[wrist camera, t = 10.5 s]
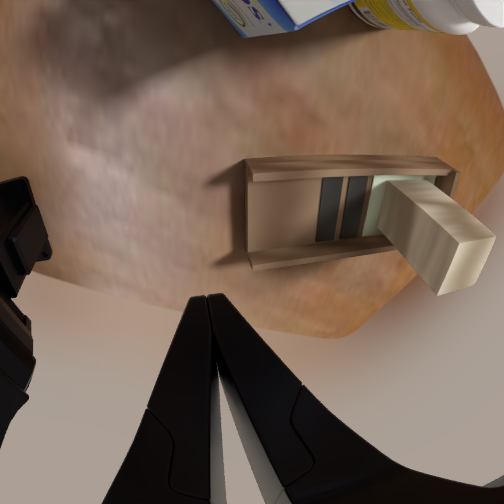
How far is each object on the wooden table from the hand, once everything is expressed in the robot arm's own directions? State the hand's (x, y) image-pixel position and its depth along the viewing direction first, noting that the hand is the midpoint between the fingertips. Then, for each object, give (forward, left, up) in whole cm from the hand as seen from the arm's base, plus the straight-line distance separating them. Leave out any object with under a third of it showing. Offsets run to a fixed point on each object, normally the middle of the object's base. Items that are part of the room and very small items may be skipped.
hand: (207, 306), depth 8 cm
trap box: (+11, -5, -13) cm, 18 cm away
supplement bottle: (+12, +11, -13) cm, 21 cm away
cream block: (+16, -5, -12) cm, 20 cm away
